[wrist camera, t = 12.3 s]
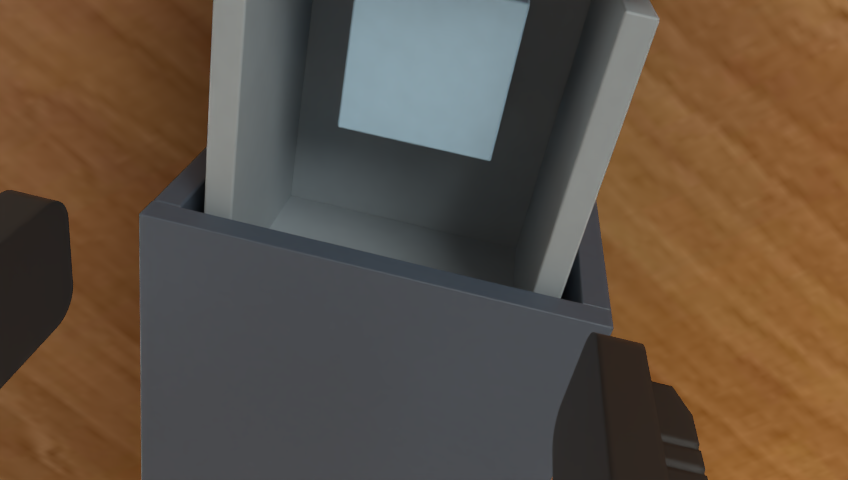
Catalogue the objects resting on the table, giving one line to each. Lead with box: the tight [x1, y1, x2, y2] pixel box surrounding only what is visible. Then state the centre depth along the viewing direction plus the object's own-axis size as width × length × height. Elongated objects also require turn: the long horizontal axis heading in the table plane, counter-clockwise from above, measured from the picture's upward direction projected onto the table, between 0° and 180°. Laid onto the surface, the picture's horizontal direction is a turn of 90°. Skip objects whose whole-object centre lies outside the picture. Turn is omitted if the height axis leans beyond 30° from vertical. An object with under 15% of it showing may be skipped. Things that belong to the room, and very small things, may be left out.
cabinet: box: [139, 147, 613, 480], centre depth 27 cm, size 15×13×10 cm
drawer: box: [204, 0, 659, 299], centre depth 21 cm, size 18×11×8 cm, turn 169°
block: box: [338, 0, 530, 161], centre depth 22 cm, size 4×4×4 cm
